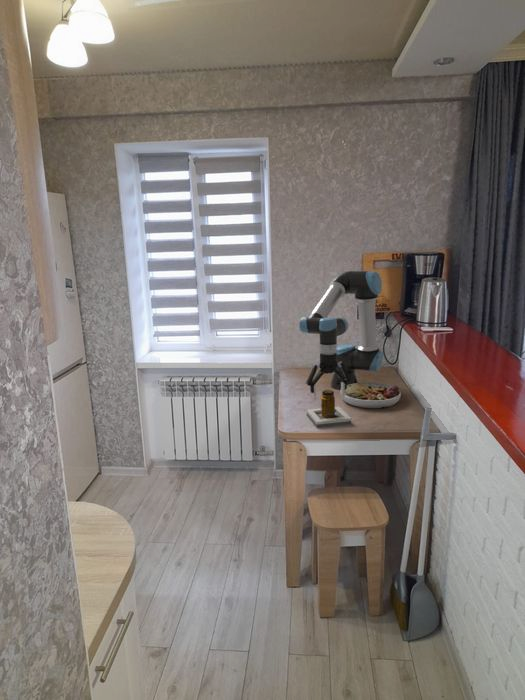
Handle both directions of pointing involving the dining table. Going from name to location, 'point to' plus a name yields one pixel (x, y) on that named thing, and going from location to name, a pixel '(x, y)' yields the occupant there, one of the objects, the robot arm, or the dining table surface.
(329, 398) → the condiment
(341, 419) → the pocket plate
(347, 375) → the robot arm
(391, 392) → the bowl
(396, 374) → the dining table surface
